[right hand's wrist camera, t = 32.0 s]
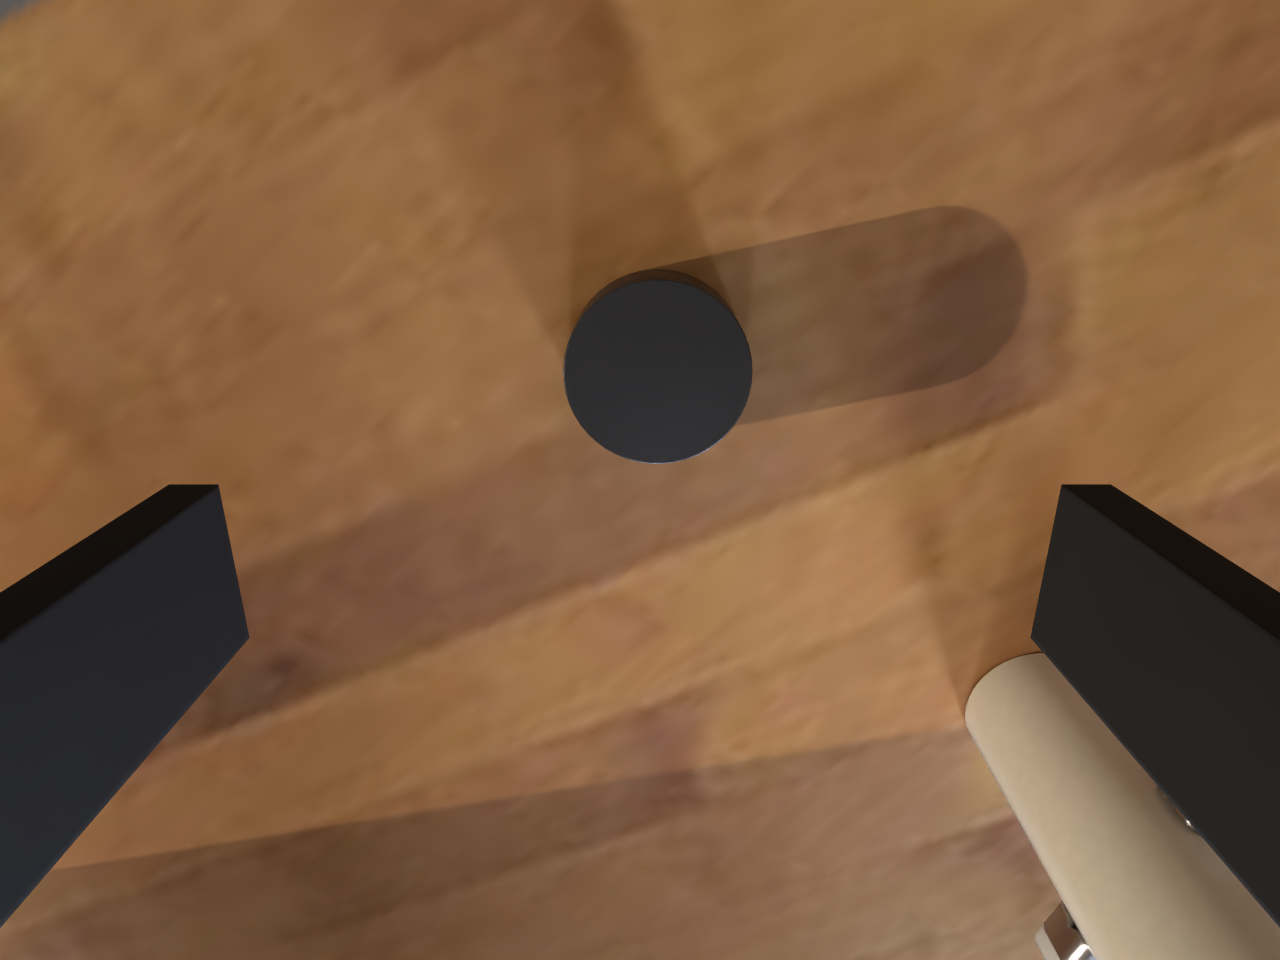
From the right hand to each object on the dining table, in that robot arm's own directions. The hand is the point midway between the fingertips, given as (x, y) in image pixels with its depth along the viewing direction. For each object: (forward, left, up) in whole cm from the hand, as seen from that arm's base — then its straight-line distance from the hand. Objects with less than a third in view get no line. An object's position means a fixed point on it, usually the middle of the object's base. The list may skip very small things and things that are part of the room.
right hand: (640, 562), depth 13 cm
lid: (+1, 0, -10) cm, 10 cm away
